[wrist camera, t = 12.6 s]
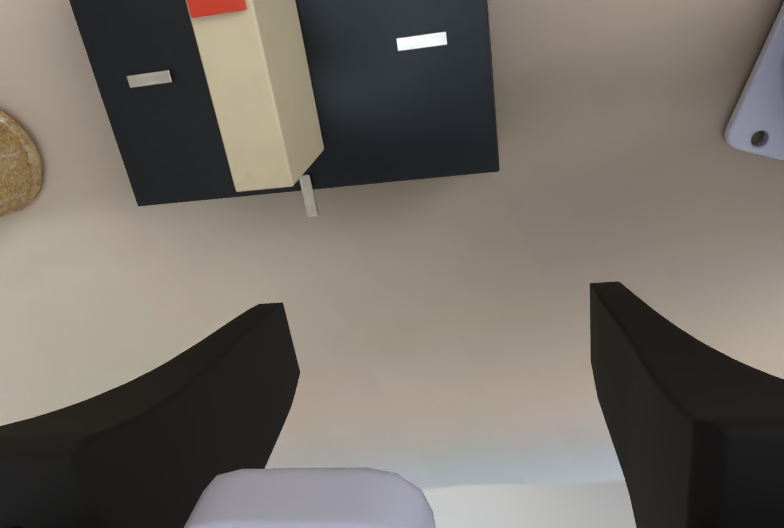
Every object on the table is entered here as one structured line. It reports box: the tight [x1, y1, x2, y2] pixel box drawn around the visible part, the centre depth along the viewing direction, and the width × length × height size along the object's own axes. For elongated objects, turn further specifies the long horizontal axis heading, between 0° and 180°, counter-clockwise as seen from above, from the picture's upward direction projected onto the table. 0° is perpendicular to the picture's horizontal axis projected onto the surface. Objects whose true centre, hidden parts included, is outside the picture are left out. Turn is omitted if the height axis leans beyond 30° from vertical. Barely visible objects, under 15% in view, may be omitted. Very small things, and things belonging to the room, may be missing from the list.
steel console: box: [69, 0, 499, 217], centre depth 20 cm, size 12×10×4 cm
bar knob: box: [186, 0, 324, 192], centre depth 16 cm, size 6×2×4 cm, turn 9°
